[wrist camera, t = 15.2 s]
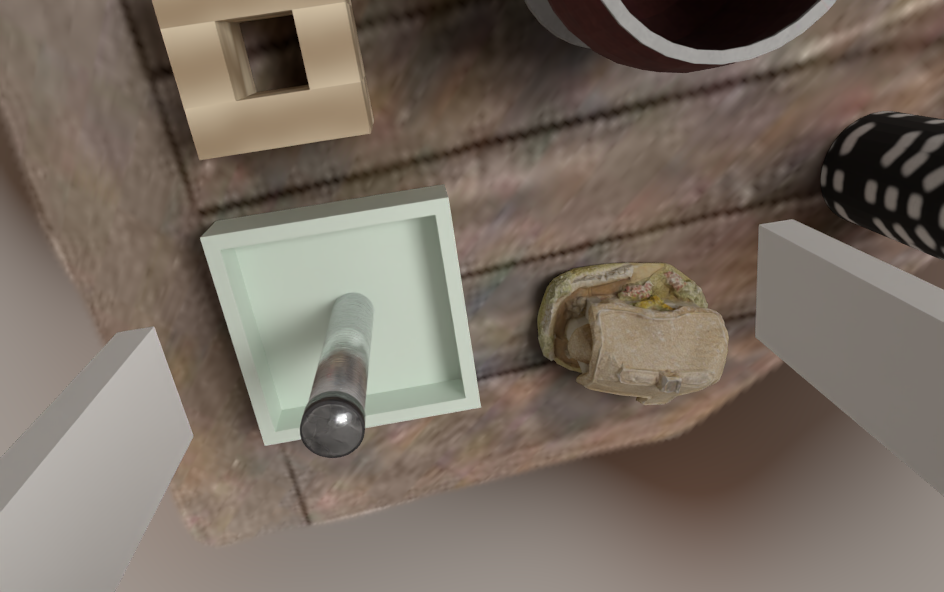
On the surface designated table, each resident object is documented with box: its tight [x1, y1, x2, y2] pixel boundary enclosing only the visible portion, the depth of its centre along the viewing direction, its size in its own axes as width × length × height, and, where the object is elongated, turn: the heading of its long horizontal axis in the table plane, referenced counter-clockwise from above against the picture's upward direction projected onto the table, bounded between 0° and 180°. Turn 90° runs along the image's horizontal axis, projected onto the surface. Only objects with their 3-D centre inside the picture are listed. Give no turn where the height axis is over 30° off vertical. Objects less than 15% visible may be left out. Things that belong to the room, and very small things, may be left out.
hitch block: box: [152, 0, 374, 160], centre depth 39 cm, size 10×10×6 cm
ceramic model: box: [537, 262, 729, 405], centre depth 47 cm, size 14×11×10 cm
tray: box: [200, 184, 481, 446], centre depth 47 cm, size 16×16×4 cm
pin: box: [300, 292, 374, 458], centre depth 40 cm, size 3×3×16 cm
